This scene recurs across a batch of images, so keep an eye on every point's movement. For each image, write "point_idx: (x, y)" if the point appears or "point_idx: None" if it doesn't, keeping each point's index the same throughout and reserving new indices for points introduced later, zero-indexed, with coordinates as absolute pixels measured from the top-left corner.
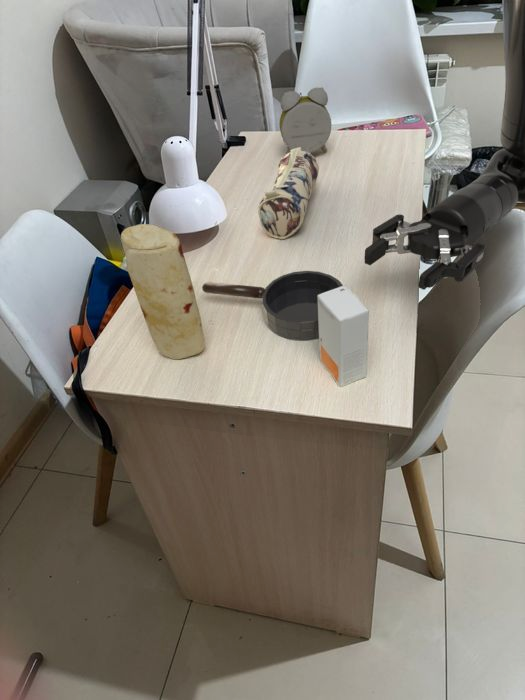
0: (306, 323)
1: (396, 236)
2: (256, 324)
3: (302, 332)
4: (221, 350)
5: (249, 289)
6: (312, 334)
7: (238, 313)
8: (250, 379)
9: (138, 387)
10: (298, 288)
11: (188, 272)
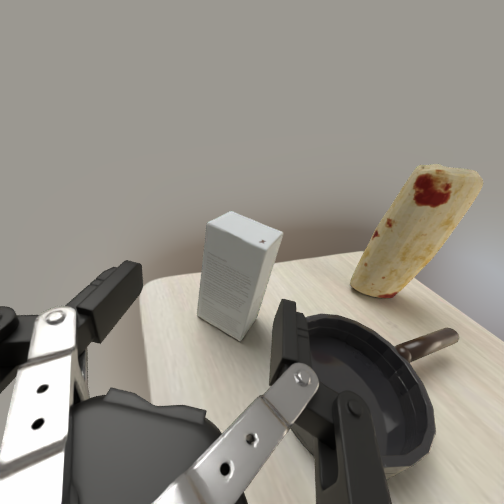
0: None
1: (268, 394)
2: None
3: None
4: (343, 298)
5: (412, 342)
6: None
7: None
8: (293, 281)
9: (346, 257)
10: (404, 443)
11: (403, 210)
